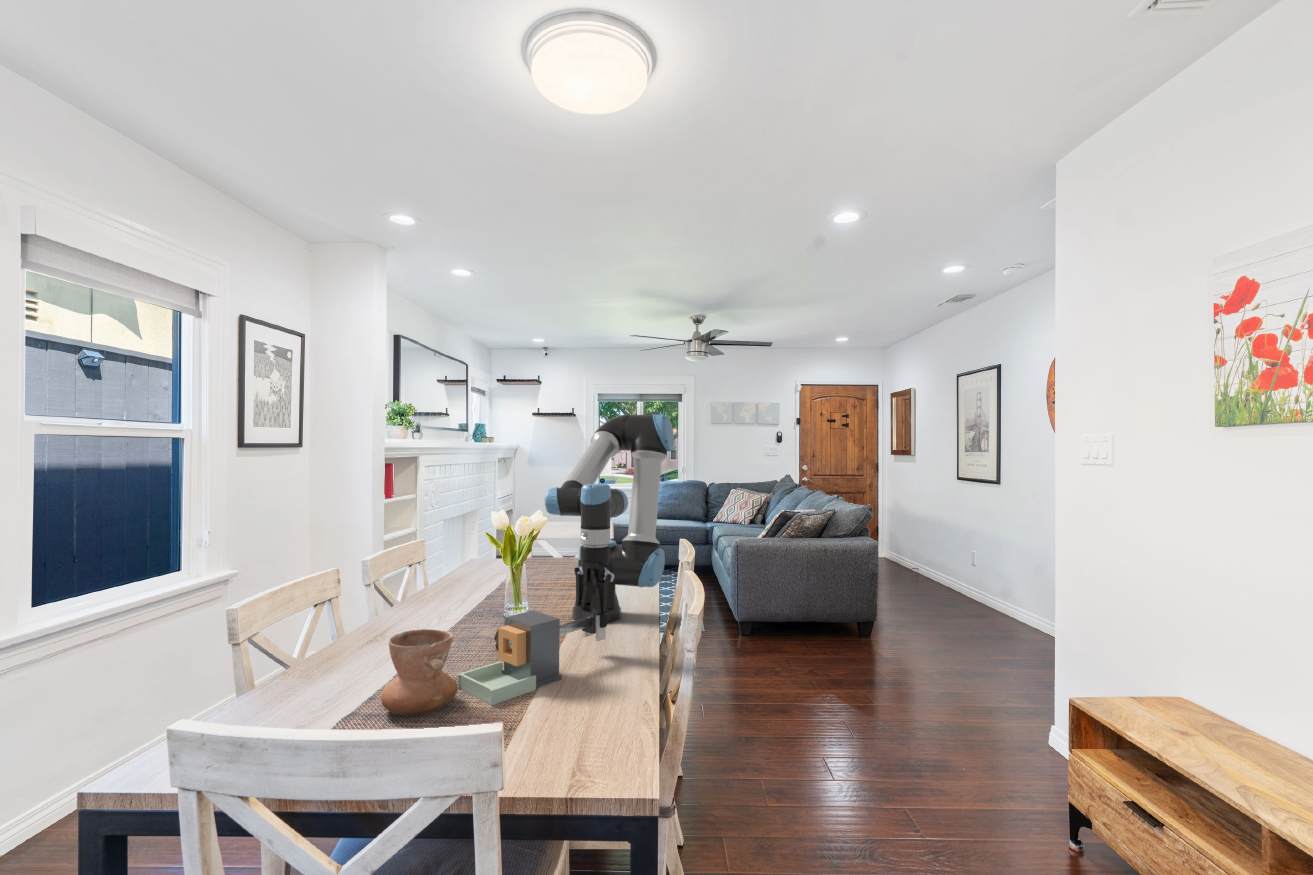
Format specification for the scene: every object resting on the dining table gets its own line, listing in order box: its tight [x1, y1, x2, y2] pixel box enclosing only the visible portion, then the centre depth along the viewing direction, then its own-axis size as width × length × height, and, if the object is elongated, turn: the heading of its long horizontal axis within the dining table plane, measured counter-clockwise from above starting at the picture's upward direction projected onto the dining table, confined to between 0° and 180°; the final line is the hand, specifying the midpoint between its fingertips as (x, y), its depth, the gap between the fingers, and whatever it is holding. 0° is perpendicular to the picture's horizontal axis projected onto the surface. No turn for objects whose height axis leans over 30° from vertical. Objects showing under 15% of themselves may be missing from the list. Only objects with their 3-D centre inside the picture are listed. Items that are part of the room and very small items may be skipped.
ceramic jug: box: [380, 628, 459, 717], centre depth 124 cm, size 18×14×14 cm
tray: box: [456, 660, 537, 706], centre depth 133 cm, size 11×13×3 cm
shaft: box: [507, 608, 598, 649], centre depth 146 cm, size 27×4×5 cm, turn 138°
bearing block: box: [501, 610, 563, 689], centre depth 140 cm, size 8×12×14 cm, turn 48°
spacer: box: [497, 625, 526, 666], centre depth 136 cm, size 2×7×7 cm, turn 48°
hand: (594, 637), depth 154 cm, fingers closed on shaft, 4 cm apart
